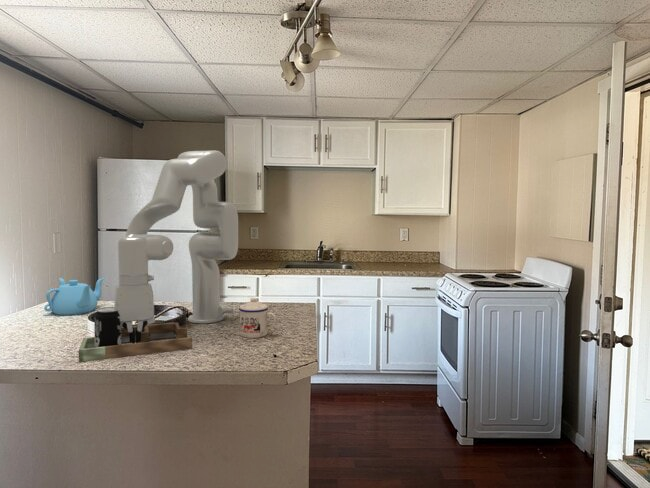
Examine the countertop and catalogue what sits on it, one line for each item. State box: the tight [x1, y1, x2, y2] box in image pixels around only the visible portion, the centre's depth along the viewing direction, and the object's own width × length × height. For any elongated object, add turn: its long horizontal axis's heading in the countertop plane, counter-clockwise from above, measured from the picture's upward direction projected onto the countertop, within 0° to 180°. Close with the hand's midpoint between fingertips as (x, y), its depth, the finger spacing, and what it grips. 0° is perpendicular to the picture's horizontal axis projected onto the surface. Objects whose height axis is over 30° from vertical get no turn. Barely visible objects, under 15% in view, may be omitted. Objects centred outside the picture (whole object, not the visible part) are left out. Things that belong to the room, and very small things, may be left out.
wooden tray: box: [78, 321, 193, 363], centre depth 123 cm, size 28×20×3 cm
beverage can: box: [94, 306, 122, 348], centre depth 116 cm, size 7×7×12 cm
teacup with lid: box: [238, 297, 277, 339], centre depth 134 cm, size 12×9×12 cm
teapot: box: [43, 277, 106, 316], centre depth 163 cm, size 17×19×12 cm
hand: (135, 344), depth 119 cm, fingers closed
